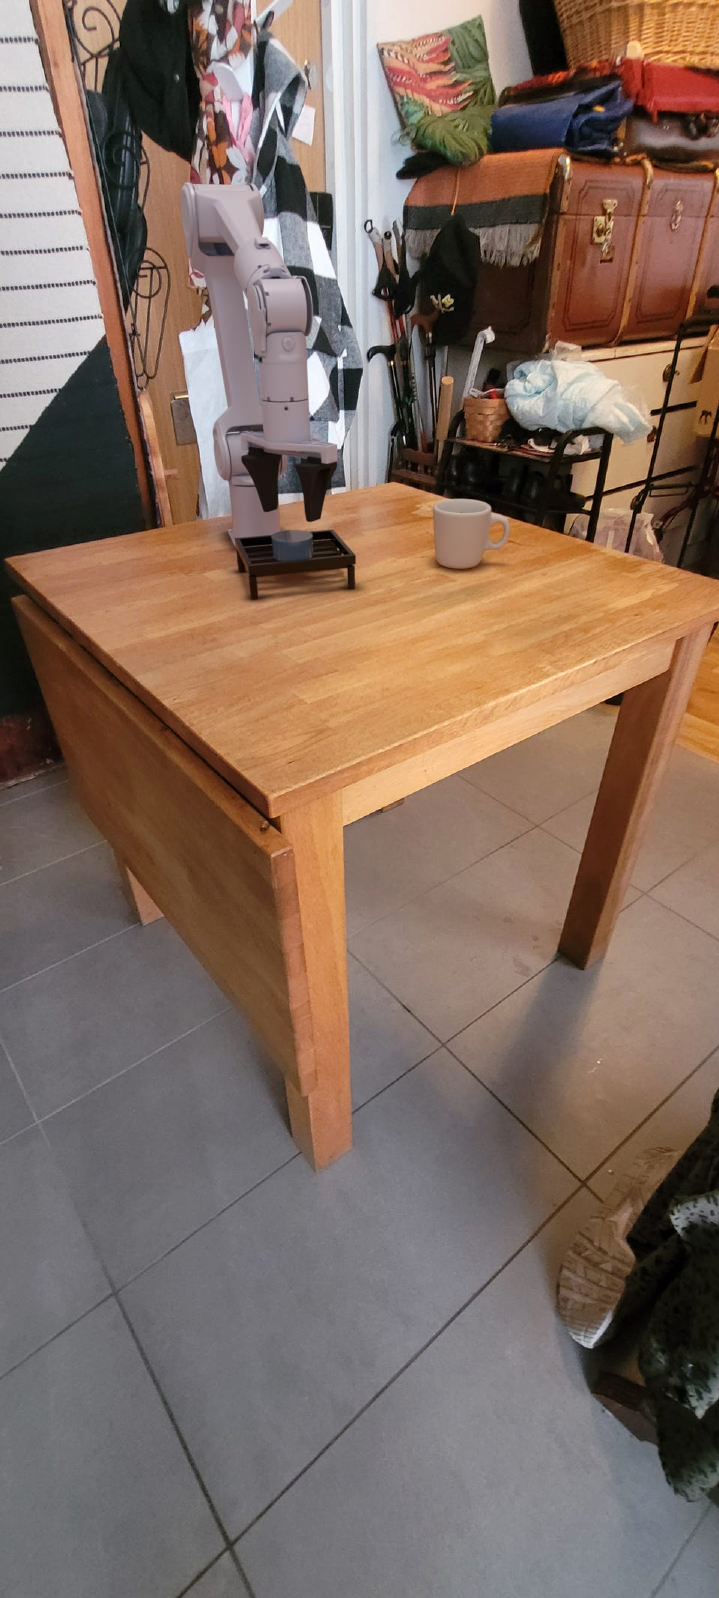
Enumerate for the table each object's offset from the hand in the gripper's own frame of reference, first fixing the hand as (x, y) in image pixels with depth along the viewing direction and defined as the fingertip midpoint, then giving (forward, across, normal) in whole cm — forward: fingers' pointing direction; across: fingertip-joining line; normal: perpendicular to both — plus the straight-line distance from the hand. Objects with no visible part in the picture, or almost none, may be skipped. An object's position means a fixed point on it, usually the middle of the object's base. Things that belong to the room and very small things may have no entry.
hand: (291, 515), depth 100 cm
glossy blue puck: (+5, 0, 0) cm, 5 cm away
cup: (+9, -16, -20) cm, 26 cm away
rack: (+8, 0, 0) cm, 9 cm away
